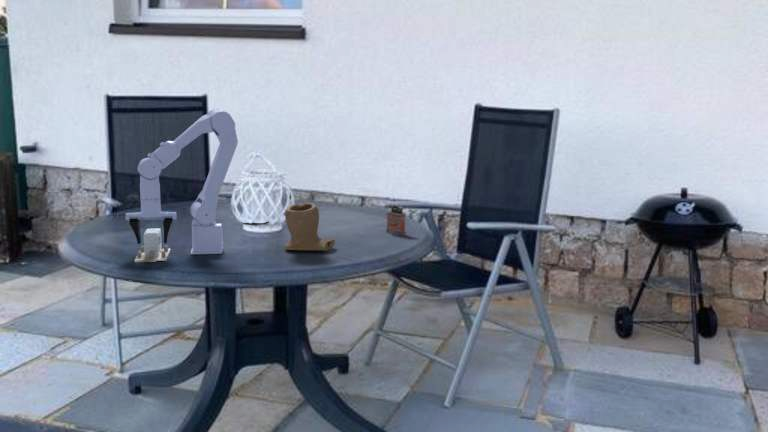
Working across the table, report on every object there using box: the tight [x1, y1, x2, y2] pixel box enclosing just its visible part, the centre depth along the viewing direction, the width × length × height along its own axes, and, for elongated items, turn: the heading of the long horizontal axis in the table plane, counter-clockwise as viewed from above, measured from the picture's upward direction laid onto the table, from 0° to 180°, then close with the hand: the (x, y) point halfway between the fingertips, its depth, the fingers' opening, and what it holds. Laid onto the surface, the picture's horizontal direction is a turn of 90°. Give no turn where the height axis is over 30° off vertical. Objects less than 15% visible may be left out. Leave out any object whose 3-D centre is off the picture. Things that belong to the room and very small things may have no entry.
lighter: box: [385, 203, 407, 236], centre depth 275 cm, size 8×3×10 cm, turn 47°
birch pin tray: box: [133, 245, 172, 263], centre depth 239 cm, size 9×14×2 cm, turn 9°
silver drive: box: [143, 228, 163, 257], centre depth 239 cm, size 4×8×7 cm, turn 9°
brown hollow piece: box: [284, 202, 336, 252], centre depth 248 cm, size 15×12×15 cm
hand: (152, 242), depth 239 cm, fingers open, 7 cm apart
